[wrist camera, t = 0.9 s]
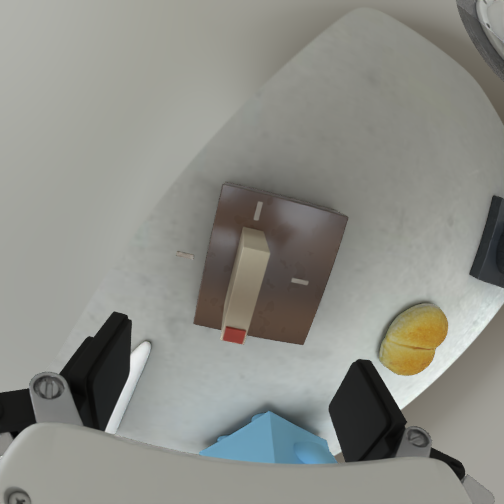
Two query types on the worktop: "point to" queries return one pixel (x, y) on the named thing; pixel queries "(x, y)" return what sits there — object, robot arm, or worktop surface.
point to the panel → (271, 260)
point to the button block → (492, 247)
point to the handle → (244, 285)
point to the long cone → (129, 385)
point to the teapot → (271, 443)
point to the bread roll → (413, 339)
